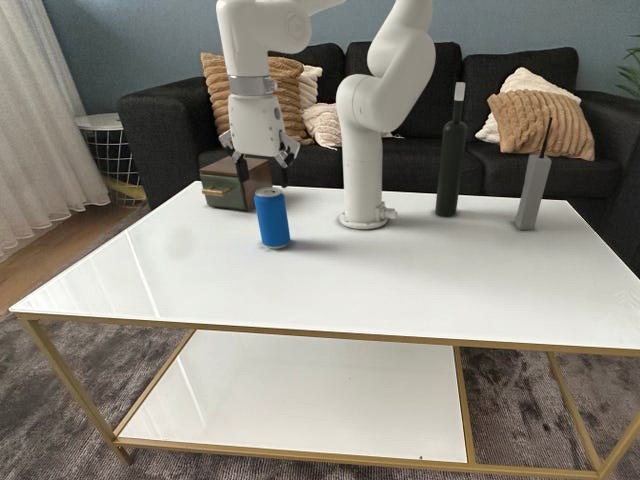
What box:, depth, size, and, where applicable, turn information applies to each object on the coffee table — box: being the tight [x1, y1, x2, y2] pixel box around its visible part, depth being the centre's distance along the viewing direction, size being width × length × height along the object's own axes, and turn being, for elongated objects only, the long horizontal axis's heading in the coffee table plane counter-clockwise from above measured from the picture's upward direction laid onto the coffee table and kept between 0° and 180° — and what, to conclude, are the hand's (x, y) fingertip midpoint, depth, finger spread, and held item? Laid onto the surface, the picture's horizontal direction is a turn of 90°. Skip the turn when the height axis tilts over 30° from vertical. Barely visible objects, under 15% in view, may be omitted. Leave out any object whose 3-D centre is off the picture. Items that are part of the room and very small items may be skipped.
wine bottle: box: [434, 81, 468, 218], centre depth 102 cm, size 6×6×30 cm
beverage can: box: [254, 187, 291, 250], centre depth 91 cm, size 6×6×12 cm
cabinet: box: [198, 155, 274, 212], centre depth 114 cm, size 15×13×10 cm
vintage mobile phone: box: [513, 116, 554, 231], centre depth 98 cm, size 4×5×25 cm
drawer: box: [199, 173, 246, 209], centre depth 111 cm, size 18×11×8 cm, turn 165°
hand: (265, 183), depth 86 cm, fingers open, 9 cm apart
